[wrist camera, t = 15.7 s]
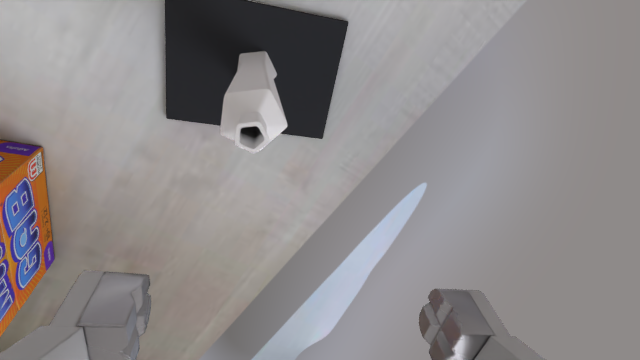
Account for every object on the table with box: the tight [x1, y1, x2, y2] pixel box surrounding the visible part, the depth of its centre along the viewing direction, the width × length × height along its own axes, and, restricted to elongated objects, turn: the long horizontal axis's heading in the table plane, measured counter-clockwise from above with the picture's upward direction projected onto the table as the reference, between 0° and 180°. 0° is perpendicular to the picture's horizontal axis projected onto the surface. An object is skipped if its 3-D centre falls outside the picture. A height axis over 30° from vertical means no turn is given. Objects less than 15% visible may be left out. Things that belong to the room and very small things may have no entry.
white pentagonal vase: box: [220, 51, 287, 153], centre depth 28 cm, size 5×4×15 cm
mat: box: [165, 0, 348, 139], centre depth 35 cm, size 16×12×1 cm
